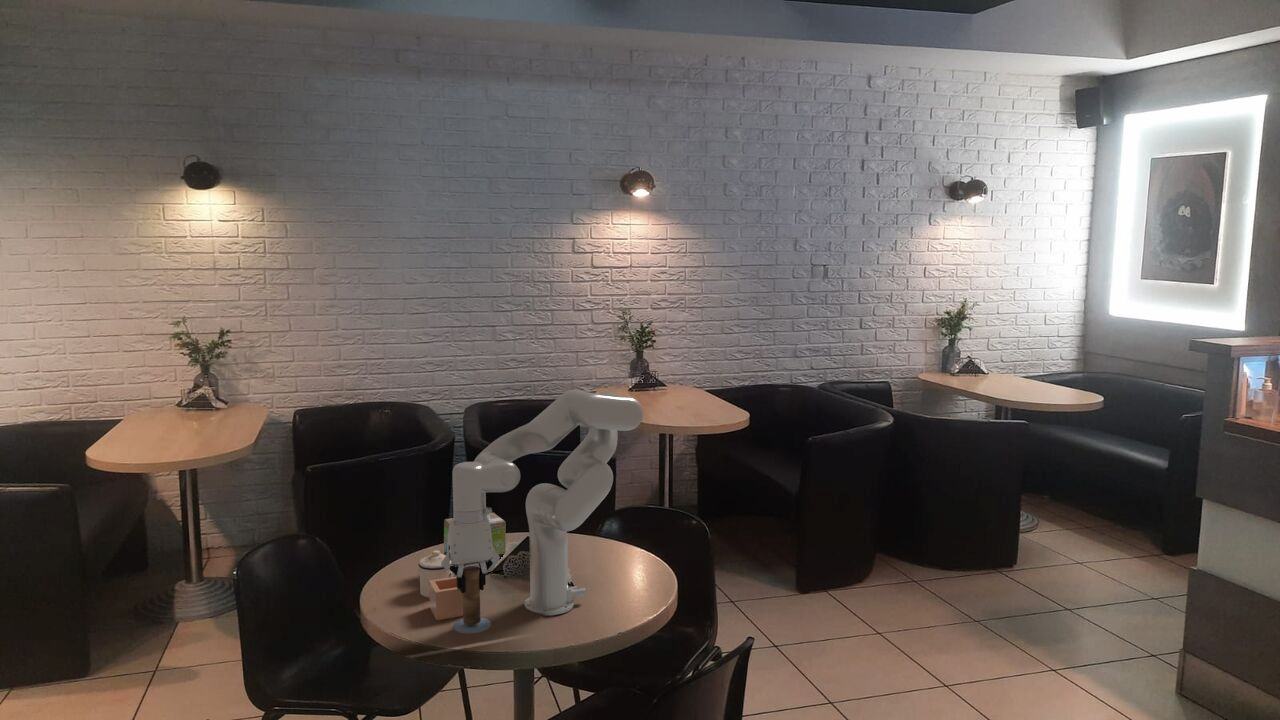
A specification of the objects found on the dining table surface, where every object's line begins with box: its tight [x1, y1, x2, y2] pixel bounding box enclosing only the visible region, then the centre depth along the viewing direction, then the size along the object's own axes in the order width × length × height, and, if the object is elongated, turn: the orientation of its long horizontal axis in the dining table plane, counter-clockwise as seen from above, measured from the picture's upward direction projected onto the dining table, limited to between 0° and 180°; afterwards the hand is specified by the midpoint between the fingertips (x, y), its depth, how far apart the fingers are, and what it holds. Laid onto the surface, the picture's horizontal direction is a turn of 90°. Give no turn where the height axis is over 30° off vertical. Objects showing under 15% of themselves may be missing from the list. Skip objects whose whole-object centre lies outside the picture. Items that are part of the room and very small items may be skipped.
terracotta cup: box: [429, 576, 463, 621], centre depth 217 cm, size 8×8×8 cm
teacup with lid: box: [418, 550, 454, 598], centre depth 231 cm, size 12×9×12 cm
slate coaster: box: [452, 617, 492, 634], centre depth 209 cm, size 9×9×1 cm
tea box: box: [443, 512, 507, 577], centre depth 247 cm, size 15×10×15 cm, turn 120°
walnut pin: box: [462, 566, 481, 625], centre depth 208 cm, size 4×4×13 cm
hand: (471, 588), depth 208 cm, fingers closed on walnut pin, 3 cm apart
